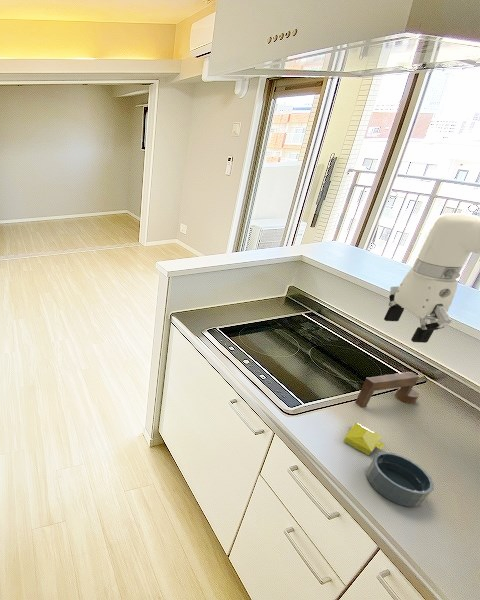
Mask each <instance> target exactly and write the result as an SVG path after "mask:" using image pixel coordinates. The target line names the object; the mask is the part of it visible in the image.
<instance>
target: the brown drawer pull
mask: <svg viewBox="0 0 480 600" xmlns="http://www.w3.org/2000/svg"><path fill="white" fill-rule="evenodd" d="M419 378H420V376H419V375H418V374H416V373H414V372H413V371H406V372H400V373H392V374H383V375H378V376H371V377H366V378H365V380H364V382H363V384H362V386H361V389H360V390H359V393H358V394H357V397H356V400H355V402H354V403H355V404H356V405H358V406H359V407H360V408H367V406H368V404H369V402H370V400H371V399H372V396H373V395H374V392H376V391H383V390H391V389H397V390H396V391H395V393H394V395H395V398H396V399H398V400H399V401H401V402H403V403H405V404H411V405H412V404H415V403H416V402H417V401H418V398H419V397H420V394H419V392H418V391H417V390H415V388H414V386H416V384H417V382H418V381H419Z"/></svg>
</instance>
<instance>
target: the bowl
mask: <svg viewBox="0 0 480 600" xmlns="http://www.w3.org/2000/svg"><path fill="white" fill-rule="evenodd" d="M365 474H366V478H367V480H368V481H369V483H370V485H371V487H373V488H374V490H375V491H377V492H378V493H379V494H380V495H381V496H382V497H384V498H385V499H387V500H389V501H391V502H393V503H394V504H398V505H401V506H404V507H412V508H415V507H420V506H421V505H423V504H424V503H425V502H426V500H427V499H428V498H429V496H430V495H431V494H432V492H433V491H434V487H435V484H434V482H433V478H432V477H431V476H430V474H429V473H428V472H427V471H426V470H425V469H423V468H422V467H421V466H420V465H419V464H417V462H414V461H413V460H411V459H409V458H407V457H405V456H403V455H402V454H401V455H400V454H397V453H395V452H389V451H380V452H377V453H375V454H373V457H372V459H371V460H370V462H369V464H368V466H367V468H366V471H365Z"/></svg>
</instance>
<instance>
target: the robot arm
mask: <svg viewBox="0 0 480 600" xmlns="http://www.w3.org/2000/svg"><path fill="white" fill-rule="evenodd" d="M471 253H474V254H478V255H480V216H478V215H474V214H467V213H460V212H459V213H458V212H450V213H443V214H440V215H438V216H437V217H436V219H434V221H433V223H432V226H431V228H430V230H429V231H428V234H427V237H426V238H425V240H424V243H423V245H422V247H421V249H420V251H419V253H418V255H417V257H416V260H415V262H414V263H413V266H412V267H411V268H410V269H409V270H408V272H407V273H406V275H405V276H404V277H403V280H402V281H401V282H400V285H398V286H391V287H390V288H389V289H390V290H389V291H390V292H389V293H390V294H389V296H388V298H389V302H388V308H387V311H386V314H385V315H384V318H383V320H384V321H385V322H399V321H400V318H401V317H402V314H403V313H404V311H405V310H406V311H407V312H409V313H410V314H411V315H413V316H415V317H417V318H418V319H419V323H420V326H418V327H417V328H416V330H415V331H414V333H413V335H412V336H411V339H410V341H411V342H412V343H421V344H422V343H424V344H426V343H429V340H430V338H431V337H432V335H433V333H434V331H438V330H440V329H444V328H445V327H446V326H448V325H450V324H451V323H452V319H451V317H450V316H449V314H448V312H449V309H450V307H451V305H452V303H453V301H454V298H455V295H456V292H457V290H458V289H457V288H458V285H459V284H458V283H459V281H458V280H457V279H459V278H460V276H461V274H460V273H461V271H462V269H463V267H464V265H465V264H466V261H468V258H469V256H470V255H471ZM428 320H429V321H430V322H429V323H428Z"/></svg>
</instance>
